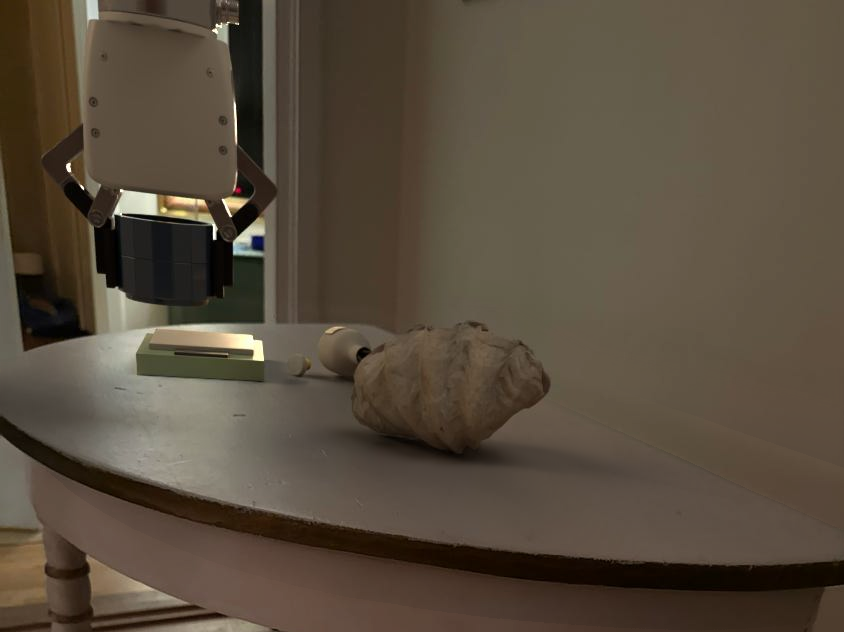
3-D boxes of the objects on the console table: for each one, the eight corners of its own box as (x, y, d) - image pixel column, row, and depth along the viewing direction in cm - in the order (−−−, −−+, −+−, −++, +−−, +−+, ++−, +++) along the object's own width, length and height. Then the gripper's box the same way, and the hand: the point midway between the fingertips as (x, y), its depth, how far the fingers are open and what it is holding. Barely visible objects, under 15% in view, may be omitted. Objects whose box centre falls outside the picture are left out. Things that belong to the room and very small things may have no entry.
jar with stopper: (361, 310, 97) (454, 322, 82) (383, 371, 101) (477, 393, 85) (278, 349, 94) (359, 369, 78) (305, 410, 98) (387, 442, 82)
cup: (113, 301, 65) (109, 216, 62) (124, 289, 70) (120, 210, 68) (213, 311, 66) (212, 227, 64) (215, 298, 72) (214, 221, 70)
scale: (137, 374, 88) (135, 346, 87) (147, 352, 98) (146, 327, 97) (264, 381, 91) (264, 354, 90) (261, 359, 101) (261, 334, 100)
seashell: (469, 478, 67) (482, 339, 63) (337, 431, 76) (341, 306, 71) (551, 459, 75) (569, 333, 70) (423, 418, 83) (431, 304, 79)
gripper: (289, 36, 66) (283, 296, 74) (26, -8, 61) (50, 273, 69) (294, 23, 59) (287, 309, 67) (1, -28, 55) (31, 285, 63)
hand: (167, 289), depth 68 cm, fingers closed on cup, 6 cm apart
